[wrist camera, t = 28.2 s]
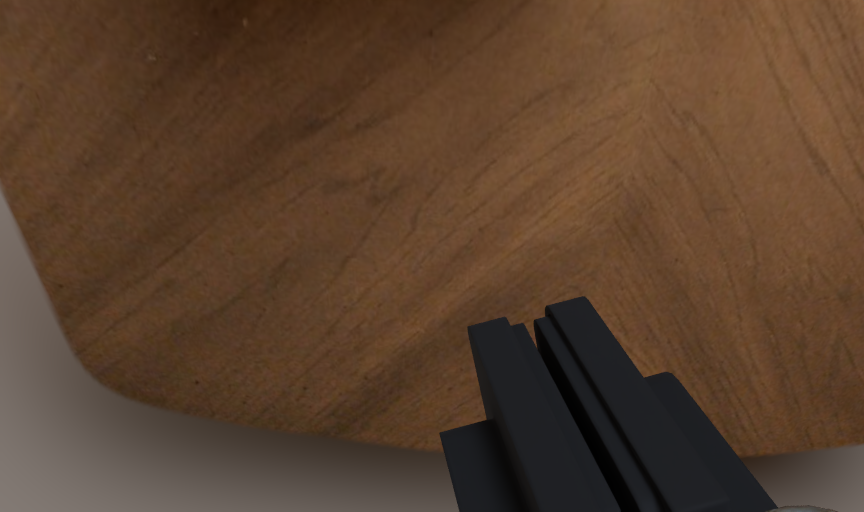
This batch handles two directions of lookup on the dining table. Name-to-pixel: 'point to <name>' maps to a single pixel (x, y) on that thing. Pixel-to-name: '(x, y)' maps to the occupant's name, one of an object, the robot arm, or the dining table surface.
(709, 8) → the dining table surface
